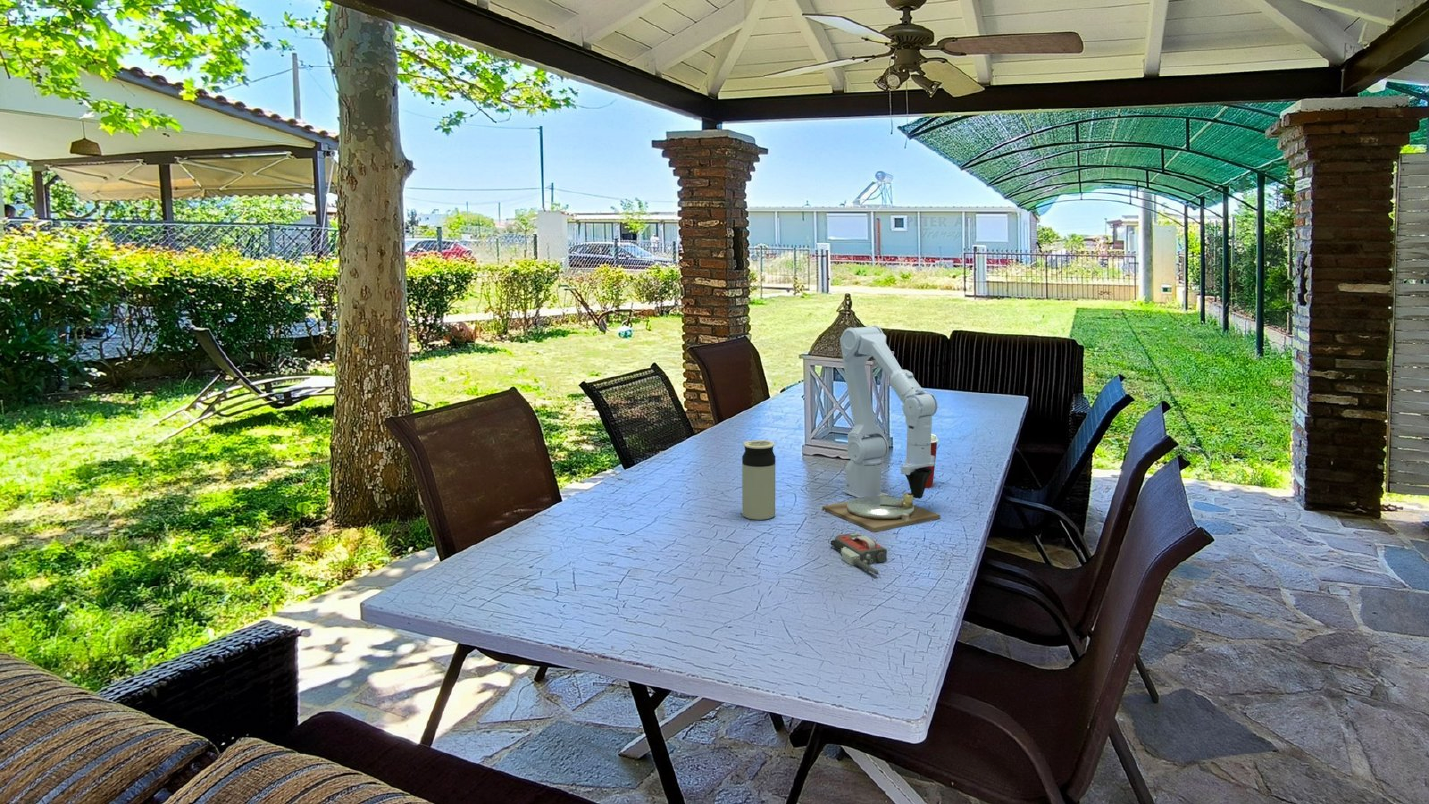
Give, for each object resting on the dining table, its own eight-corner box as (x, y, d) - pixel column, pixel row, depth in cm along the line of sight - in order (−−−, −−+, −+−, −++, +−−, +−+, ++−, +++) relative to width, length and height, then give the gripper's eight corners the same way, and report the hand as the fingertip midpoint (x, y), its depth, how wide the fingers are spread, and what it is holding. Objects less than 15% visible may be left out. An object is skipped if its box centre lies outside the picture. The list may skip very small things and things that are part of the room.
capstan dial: (842, 516, 206) (843, 499, 205) (851, 498, 221) (851, 481, 220) (911, 521, 202) (912, 503, 201) (915, 502, 217) (916, 486, 216)
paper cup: (940, 484, 239) (942, 434, 236) (931, 490, 232) (933, 439, 230) (912, 480, 243) (914, 431, 240) (903, 486, 236) (904, 436, 234)
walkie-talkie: (821, 549, 188) (872, 580, 170) (821, 529, 188) (872, 559, 169) (856, 543, 192) (909, 574, 174) (856, 524, 191) (910, 553, 173)
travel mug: (781, 515, 212) (782, 443, 208) (760, 522, 206) (760, 448, 203) (756, 509, 217) (756, 438, 214) (735, 516, 211) (735, 443, 208)
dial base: (822, 510, 216) (822, 500, 215) (885, 498, 225) (885, 489, 225) (874, 532, 198) (874, 522, 198) (940, 518, 208) (940, 509, 207)
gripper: (921, 450, 203) (919, 507, 205) (946, 440, 214) (945, 493, 216) (893, 446, 207) (892, 502, 209) (920, 436, 218) (918, 489, 221)
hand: (917, 497), depth 213 cm, fingers closed
